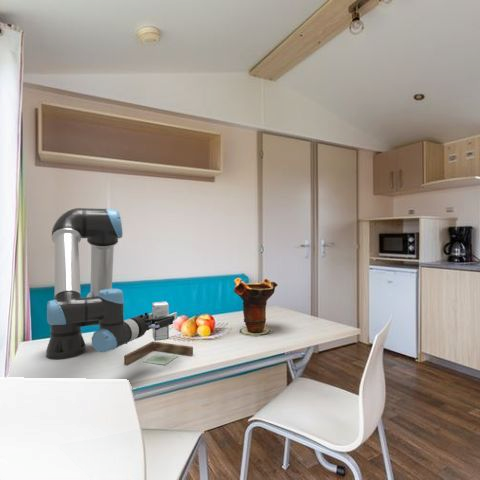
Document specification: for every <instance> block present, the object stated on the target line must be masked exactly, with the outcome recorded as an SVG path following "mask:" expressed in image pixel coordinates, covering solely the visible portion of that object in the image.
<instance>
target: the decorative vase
mask: <svg viewBox="0 0 480 480" xmlns="http://www.w3.org/2000/svg"><path fill="white" fill-rule="evenodd" d="M233 282H234V284H235V286H234V289H233V290H234V291H233V293H234V294H236V295H237V296H238V297H239V298H240V299H241V300H242V311H243V323H244V325H245V326H242V327H240V328H239V329H237V331H238V333H239V334H240V335H243V336H248V337H260V336H261V335H267V334H271V333H272V332H273V330H272V329H271V328H270V327H267V318H266V311H267V310H266V307H267V301H268V300H269V299H270V298H271V297H272V296H273V295H274V293H275V290H276V287H278V284H277V282H275V281H271V280H270V279H269V278H264V279H263V281H261V282H258V283H256V282H255V283H254V282H253V283H245V281H242V278H240V277H237V278H235V279H234V280H233ZM265 325H266V326H265Z"/></svg>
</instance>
